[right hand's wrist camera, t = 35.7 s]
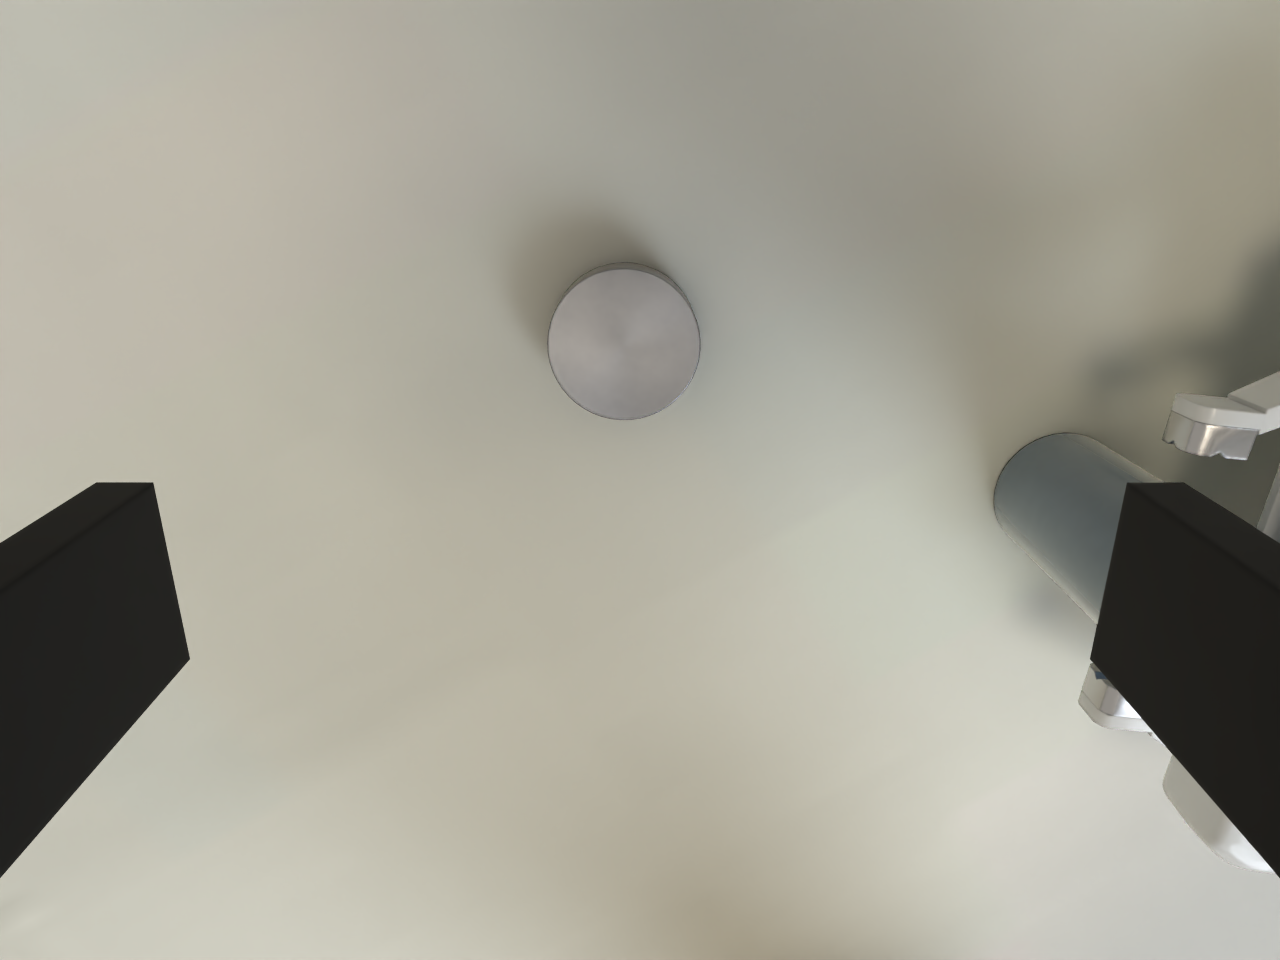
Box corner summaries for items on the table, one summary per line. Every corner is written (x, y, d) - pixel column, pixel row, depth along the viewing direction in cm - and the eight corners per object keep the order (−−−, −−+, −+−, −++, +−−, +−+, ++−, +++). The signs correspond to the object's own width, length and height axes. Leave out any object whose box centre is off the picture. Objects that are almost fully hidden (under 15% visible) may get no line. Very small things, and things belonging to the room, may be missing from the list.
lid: (725, 314, 32) (730, 323, 30) (645, 432, 33) (646, 447, 32) (601, 232, 31) (599, 237, 29) (525, 358, 32) (518, 369, 31)
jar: (1113, 544, 35) (1567, 910, 18) (990, 554, 35) (1327, 927, 18) (1125, 427, 34) (1638, 707, 16) (996, 438, 34) (1373, 728, 17)
